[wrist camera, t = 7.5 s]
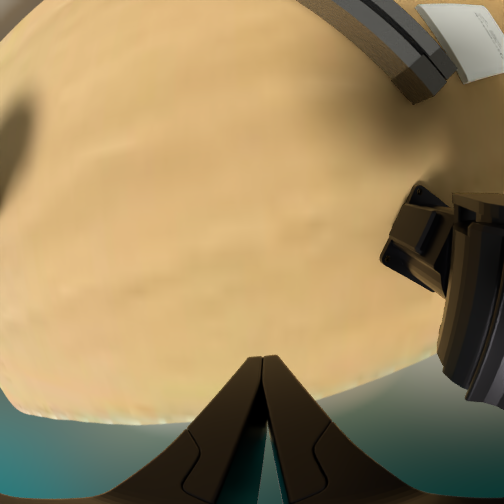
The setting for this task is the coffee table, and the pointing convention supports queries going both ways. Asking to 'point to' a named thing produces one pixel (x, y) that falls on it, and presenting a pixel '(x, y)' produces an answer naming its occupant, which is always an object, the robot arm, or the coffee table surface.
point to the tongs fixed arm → (413, 34)
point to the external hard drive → (467, 38)
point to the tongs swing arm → (381, 46)
